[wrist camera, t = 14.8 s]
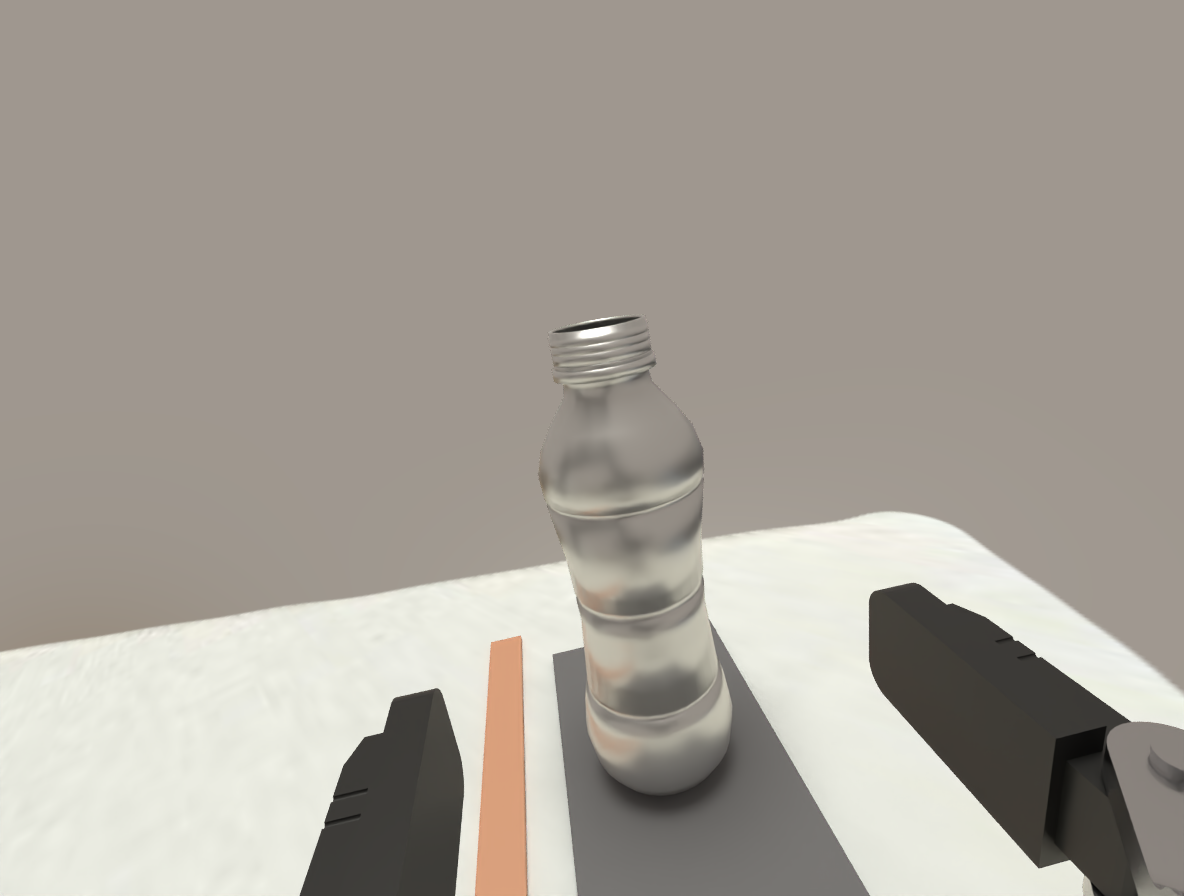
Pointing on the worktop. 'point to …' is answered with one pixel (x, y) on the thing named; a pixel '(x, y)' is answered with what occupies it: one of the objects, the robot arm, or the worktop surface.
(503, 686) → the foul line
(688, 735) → the plastic bottle
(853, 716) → the worktop surface
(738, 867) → the mat
